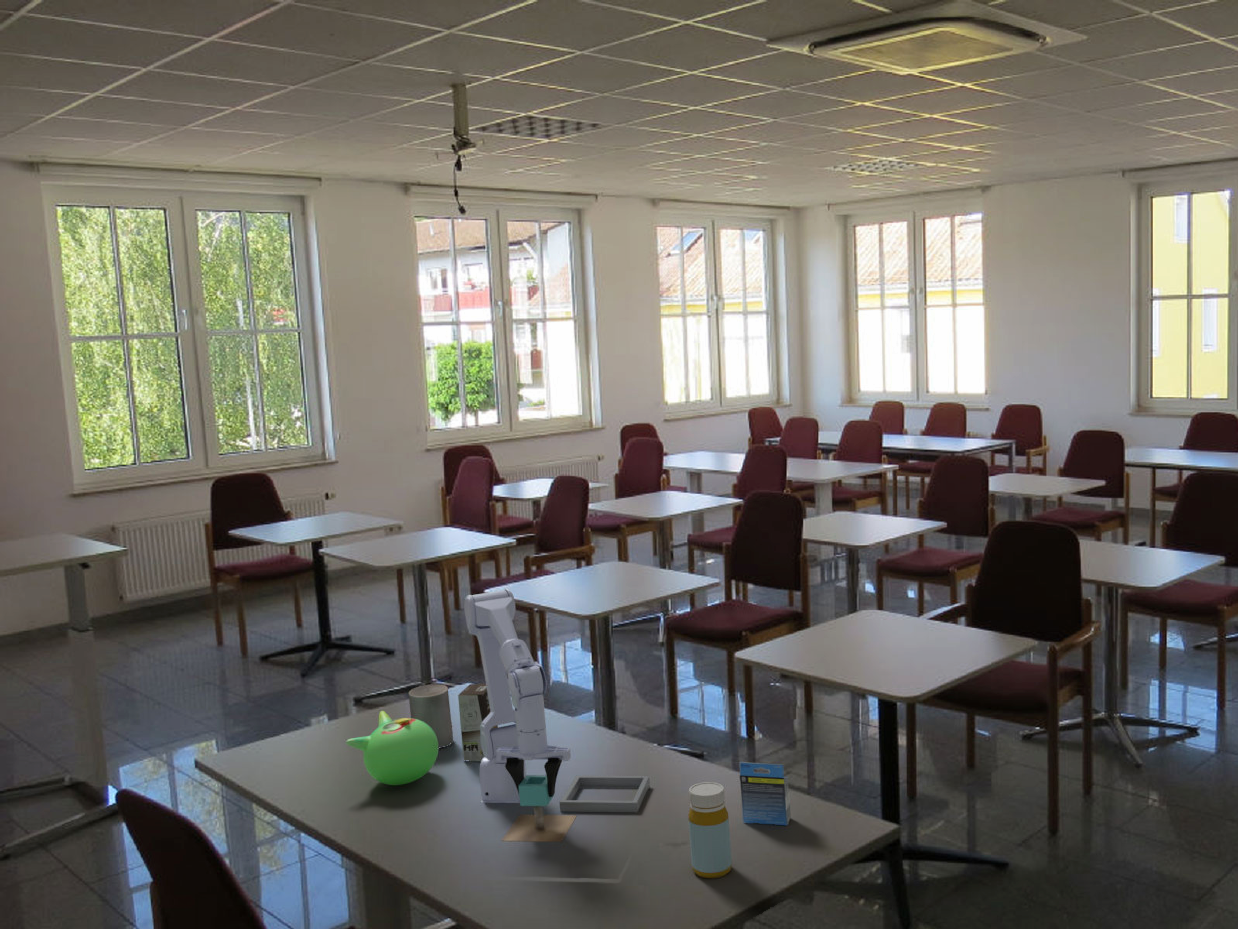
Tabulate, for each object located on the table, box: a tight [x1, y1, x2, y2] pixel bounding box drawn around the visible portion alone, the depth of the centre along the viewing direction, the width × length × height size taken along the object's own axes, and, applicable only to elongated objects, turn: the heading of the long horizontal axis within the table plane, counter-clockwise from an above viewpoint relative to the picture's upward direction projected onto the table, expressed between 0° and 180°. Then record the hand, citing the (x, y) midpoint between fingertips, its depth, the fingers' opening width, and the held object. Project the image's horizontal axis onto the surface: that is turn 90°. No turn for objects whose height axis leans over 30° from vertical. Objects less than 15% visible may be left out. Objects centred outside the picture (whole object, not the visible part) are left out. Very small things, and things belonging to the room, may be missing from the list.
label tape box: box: [739, 761, 792, 826], centre depth 218 cm, size 9×4×12 cm, turn 71°
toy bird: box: [345, 710, 439, 786], centre depth 254 cm, size 18×17×15 cm
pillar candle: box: [408, 683, 454, 748], centre depth 277 cm, size 10×10×15 cm
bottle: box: [688, 781, 733, 879], centre depth 199 cm, size 7×7×15 cm
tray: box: [559, 775, 651, 813], centre depth 235 cm, size 16×14×2 cm
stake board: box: [501, 806, 578, 843], centre depth 222 cm, size 12×12×5 cm
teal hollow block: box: [519, 774, 555, 807], centre depth 222 cm, size 5×7×4 cm
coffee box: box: [457, 682, 499, 762], centre depth 267 cm, size 9×6×16 cm
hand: (536, 794), depth 222 cm, fingers closed on teal hollow block, 5 cm apart
